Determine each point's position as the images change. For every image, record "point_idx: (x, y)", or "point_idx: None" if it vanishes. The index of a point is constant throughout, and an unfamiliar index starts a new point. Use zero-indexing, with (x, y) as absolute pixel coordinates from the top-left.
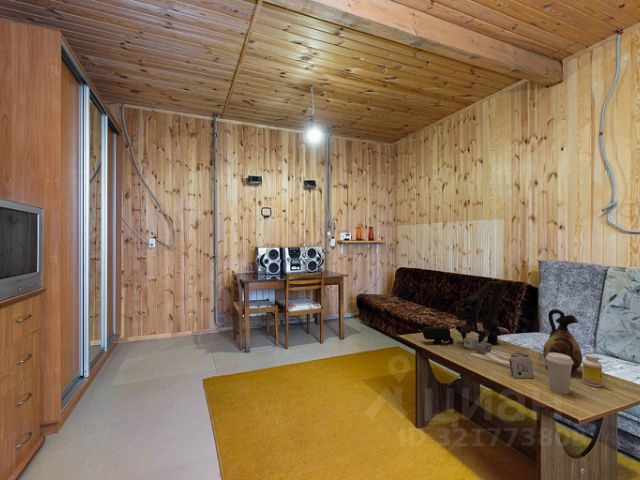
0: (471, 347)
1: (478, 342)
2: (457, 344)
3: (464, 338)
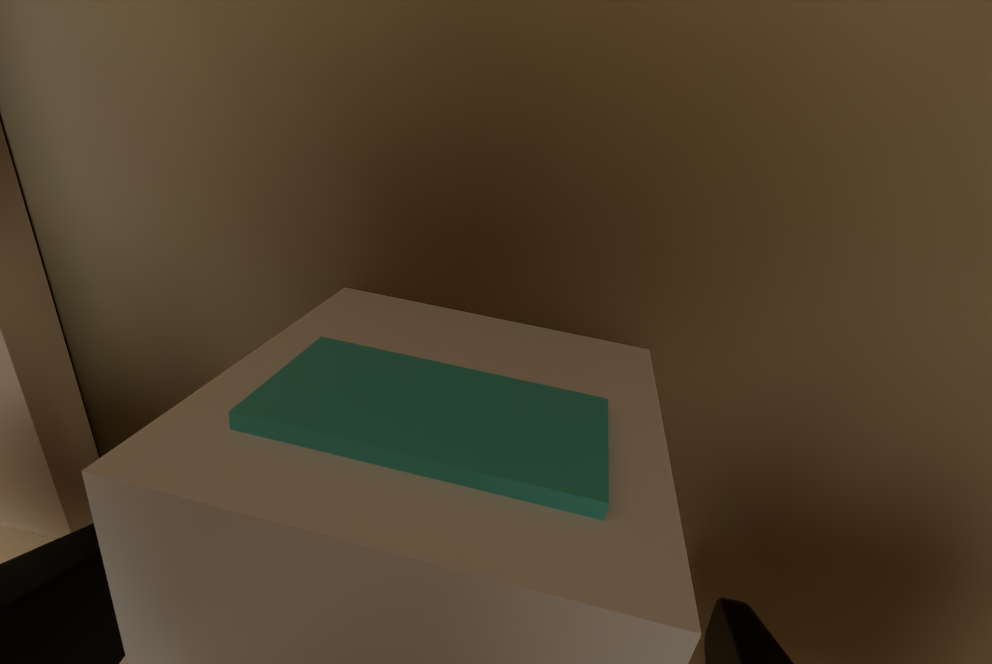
0: (327, 301)
1: (50, 587)
2: (954, 378)
3: (666, 630)
